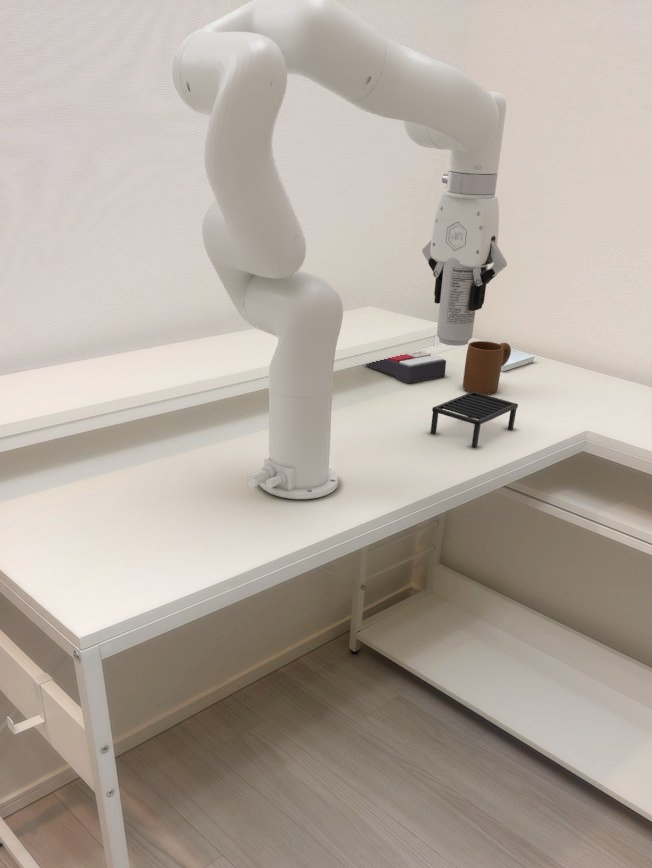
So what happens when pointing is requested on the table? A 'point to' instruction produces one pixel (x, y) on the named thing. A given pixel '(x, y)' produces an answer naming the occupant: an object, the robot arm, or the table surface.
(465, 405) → the rack
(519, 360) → the hard drive
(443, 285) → the energy drink can
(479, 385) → the mug
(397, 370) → the calculator
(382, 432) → the table surface
